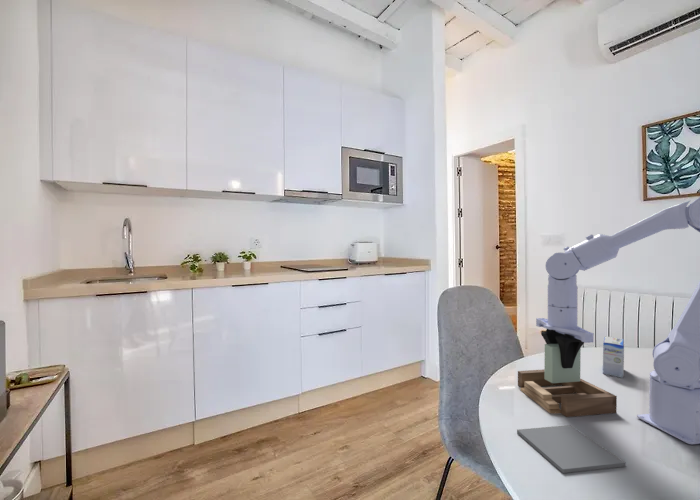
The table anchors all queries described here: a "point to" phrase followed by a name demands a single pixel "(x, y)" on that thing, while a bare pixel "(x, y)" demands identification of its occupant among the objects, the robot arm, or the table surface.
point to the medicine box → (613, 356)
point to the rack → (574, 395)
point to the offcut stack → (540, 397)
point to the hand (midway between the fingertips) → (562, 365)
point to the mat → (570, 449)
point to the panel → (560, 366)
